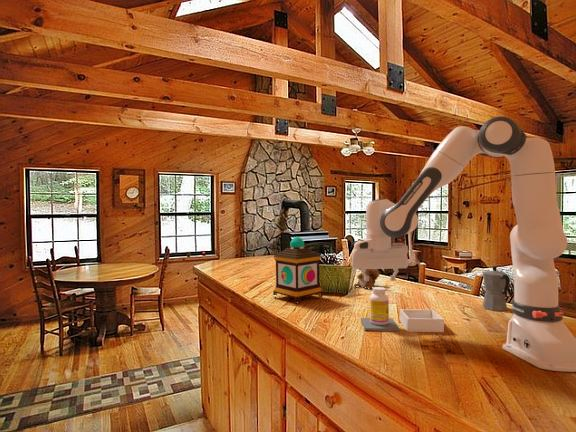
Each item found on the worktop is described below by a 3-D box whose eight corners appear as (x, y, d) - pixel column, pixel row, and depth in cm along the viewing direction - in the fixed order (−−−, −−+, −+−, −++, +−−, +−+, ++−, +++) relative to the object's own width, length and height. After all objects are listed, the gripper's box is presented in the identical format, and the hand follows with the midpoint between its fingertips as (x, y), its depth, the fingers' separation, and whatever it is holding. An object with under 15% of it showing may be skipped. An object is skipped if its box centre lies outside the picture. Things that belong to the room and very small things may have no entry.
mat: (399, 331, 129) (399, 328, 128) (365, 330, 129) (365, 328, 129) (392, 320, 140) (392, 318, 140) (360, 320, 141) (360, 318, 141)
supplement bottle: (389, 326, 131) (388, 290, 131) (370, 325, 132) (369, 289, 132) (388, 320, 138) (387, 286, 137) (370, 319, 139) (369, 286, 139)
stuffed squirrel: (352, 287, 201) (351, 263, 201) (367, 283, 210) (367, 260, 210) (367, 290, 194) (366, 265, 193) (382, 286, 203) (382, 262, 203)
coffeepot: (474, 304, 162) (474, 264, 162) (494, 304, 163) (494, 263, 163) (498, 314, 147) (498, 270, 146) (520, 313, 148) (520, 269, 147)
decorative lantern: (269, 298, 179) (268, 236, 178) (298, 291, 192) (297, 234, 192) (297, 305, 164) (296, 239, 164) (326, 298, 177) (326, 236, 177)
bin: (443, 332, 127) (443, 319, 127) (408, 331, 128) (408, 318, 128) (432, 321, 139) (432, 309, 139) (400, 320, 140) (399, 309, 140)
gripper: (405, 241, 137) (406, 278, 137) (350, 243, 138) (351, 279, 138) (409, 243, 130) (410, 282, 131) (352, 244, 132) (353, 282, 132)
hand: (379, 280), depth 134 cm, fingers open, 8 cm apart
